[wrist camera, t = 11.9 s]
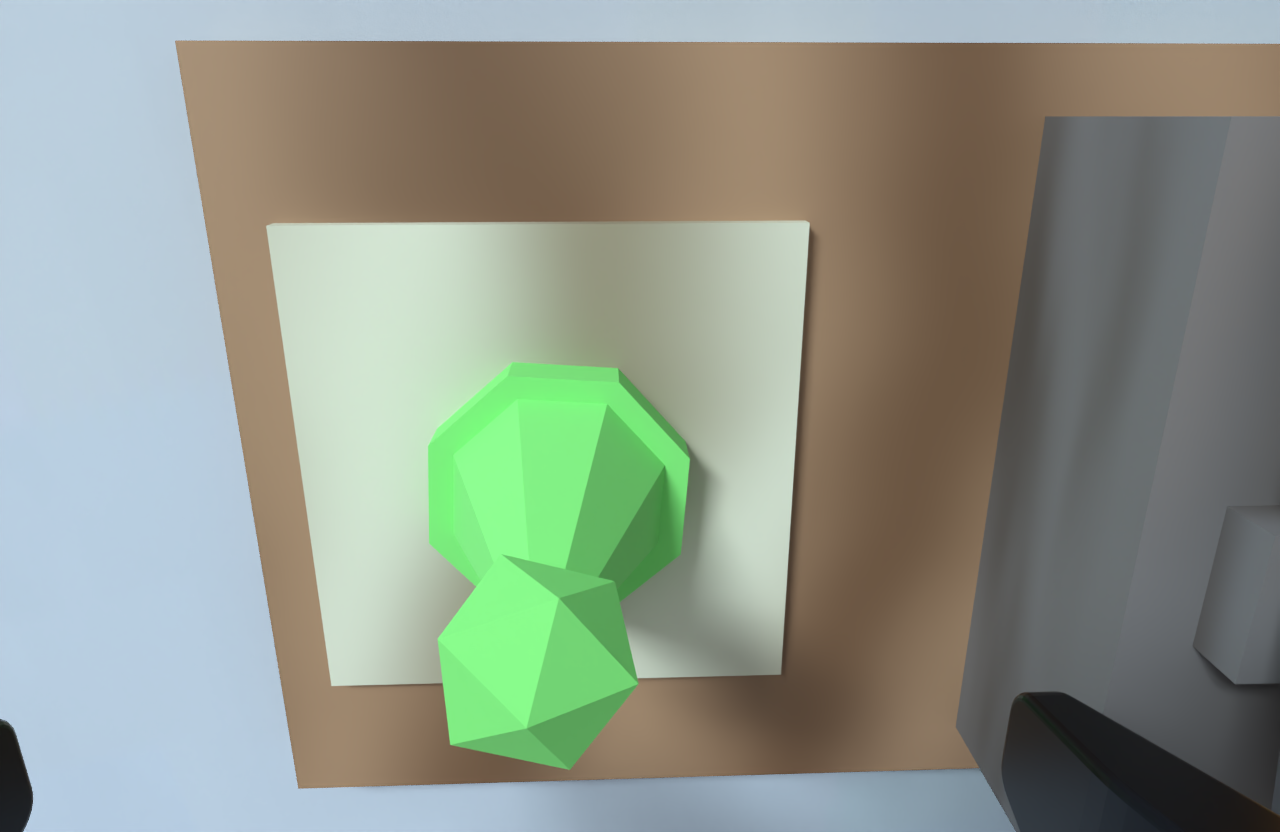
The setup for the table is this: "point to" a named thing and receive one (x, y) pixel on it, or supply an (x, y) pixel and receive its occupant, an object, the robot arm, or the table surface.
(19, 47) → the table surface
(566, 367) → the game piece
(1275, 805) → the breaker rocker
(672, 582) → the switch board
